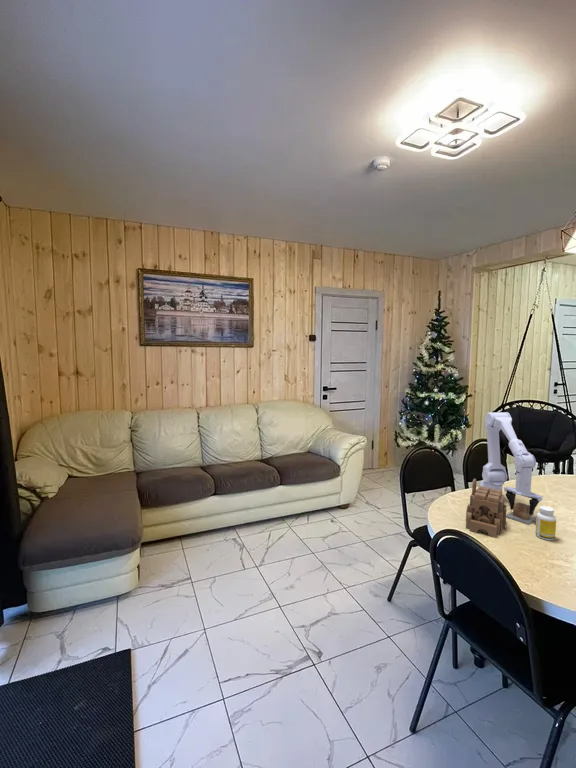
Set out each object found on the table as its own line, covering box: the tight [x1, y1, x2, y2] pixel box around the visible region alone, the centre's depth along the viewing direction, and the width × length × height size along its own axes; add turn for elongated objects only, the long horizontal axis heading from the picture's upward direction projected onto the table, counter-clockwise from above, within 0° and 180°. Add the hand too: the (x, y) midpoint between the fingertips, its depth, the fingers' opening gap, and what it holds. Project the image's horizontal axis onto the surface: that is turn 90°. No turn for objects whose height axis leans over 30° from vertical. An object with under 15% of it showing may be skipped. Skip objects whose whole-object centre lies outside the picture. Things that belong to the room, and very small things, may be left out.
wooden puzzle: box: [465, 478, 508, 538], centre depth 160 cm, size 22×15×19 cm, turn 145°
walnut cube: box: [512, 501, 530, 520], centre depth 166 cm, size 5×5×5 cm
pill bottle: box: [535, 505, 557, 541], centre depth 149 cm, size 6×6×12 cm
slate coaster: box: [506, 511, 536, 525], centre depth 166 cm, size 9×9×1 cm
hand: (521, 511), depth 166 cm, fingers open, 7 cm apart
